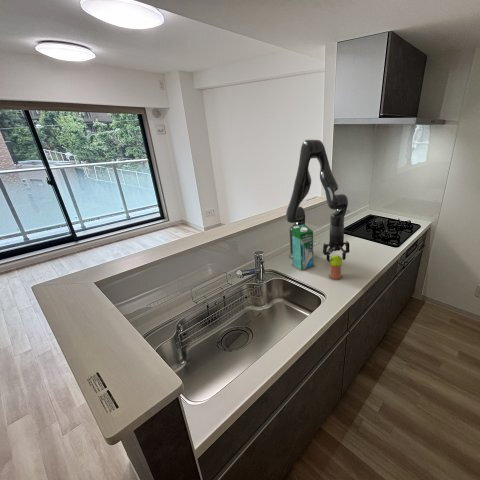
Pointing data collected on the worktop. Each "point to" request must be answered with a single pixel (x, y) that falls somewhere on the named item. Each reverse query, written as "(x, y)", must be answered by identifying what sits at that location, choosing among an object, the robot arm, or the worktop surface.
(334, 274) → the cup
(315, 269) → the worktop surface
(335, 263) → the ball
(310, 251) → the milk carton
